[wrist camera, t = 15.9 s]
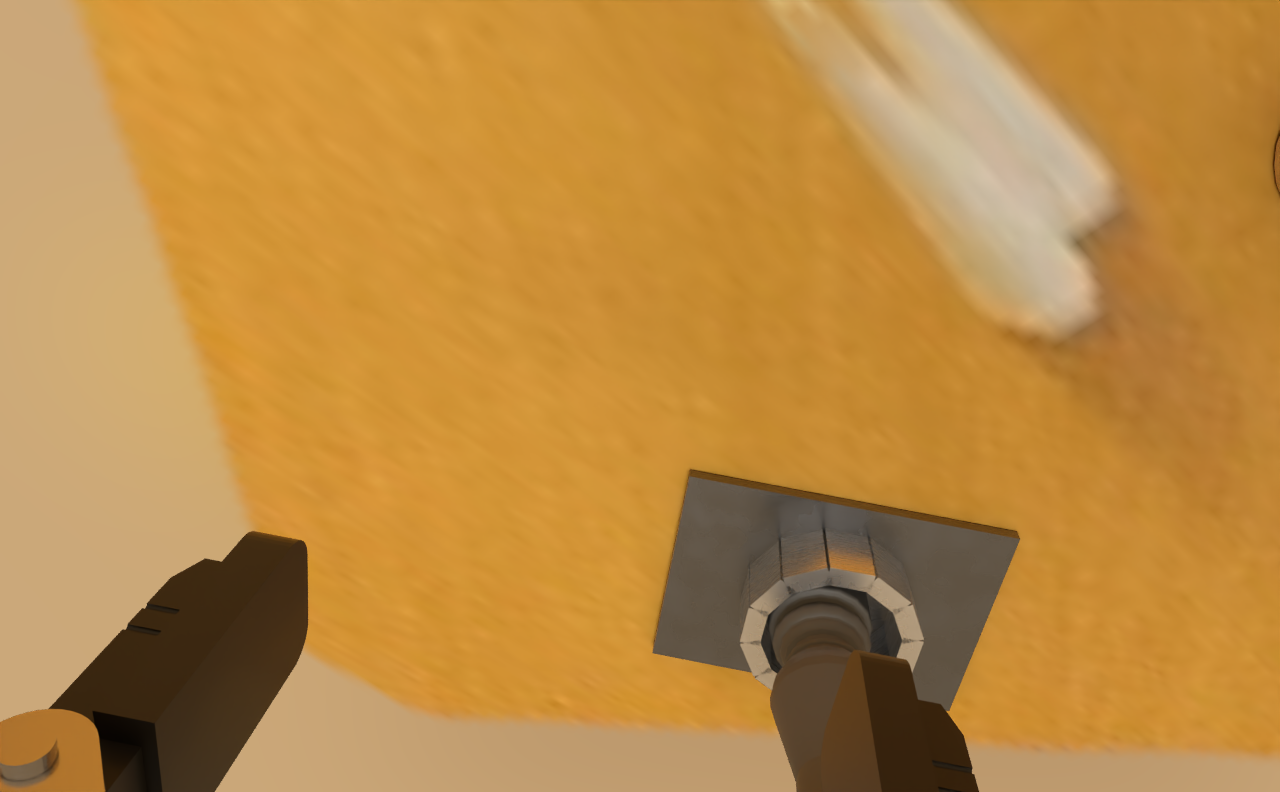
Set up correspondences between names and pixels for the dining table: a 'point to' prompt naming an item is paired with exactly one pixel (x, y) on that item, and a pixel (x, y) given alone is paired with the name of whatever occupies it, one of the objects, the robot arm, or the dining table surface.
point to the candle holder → (813, 668)
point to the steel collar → (827, 577)
